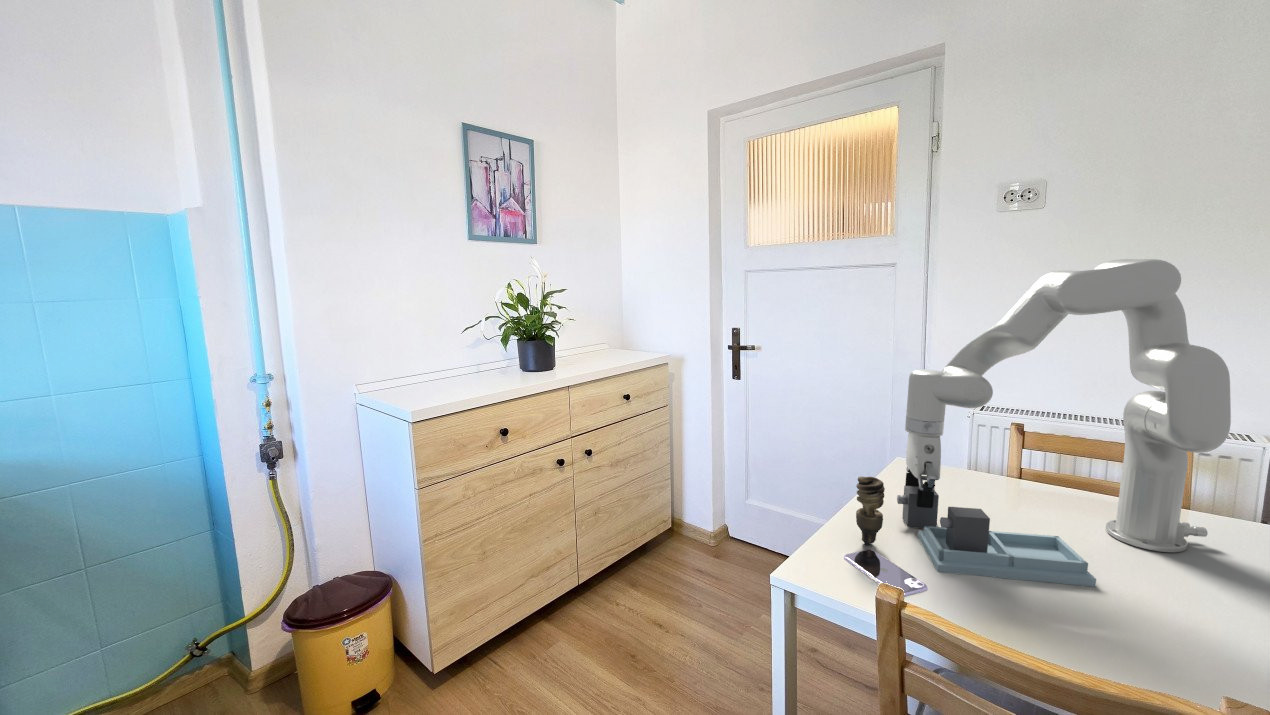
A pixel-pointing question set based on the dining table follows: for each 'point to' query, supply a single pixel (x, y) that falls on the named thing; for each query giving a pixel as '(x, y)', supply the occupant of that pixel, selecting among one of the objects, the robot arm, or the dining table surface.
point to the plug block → (917, 509)
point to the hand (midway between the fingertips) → (918, 497)
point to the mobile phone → (885, 571)
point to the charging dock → (1010, 557)
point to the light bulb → (870, 507)
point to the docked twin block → (966, 529)
